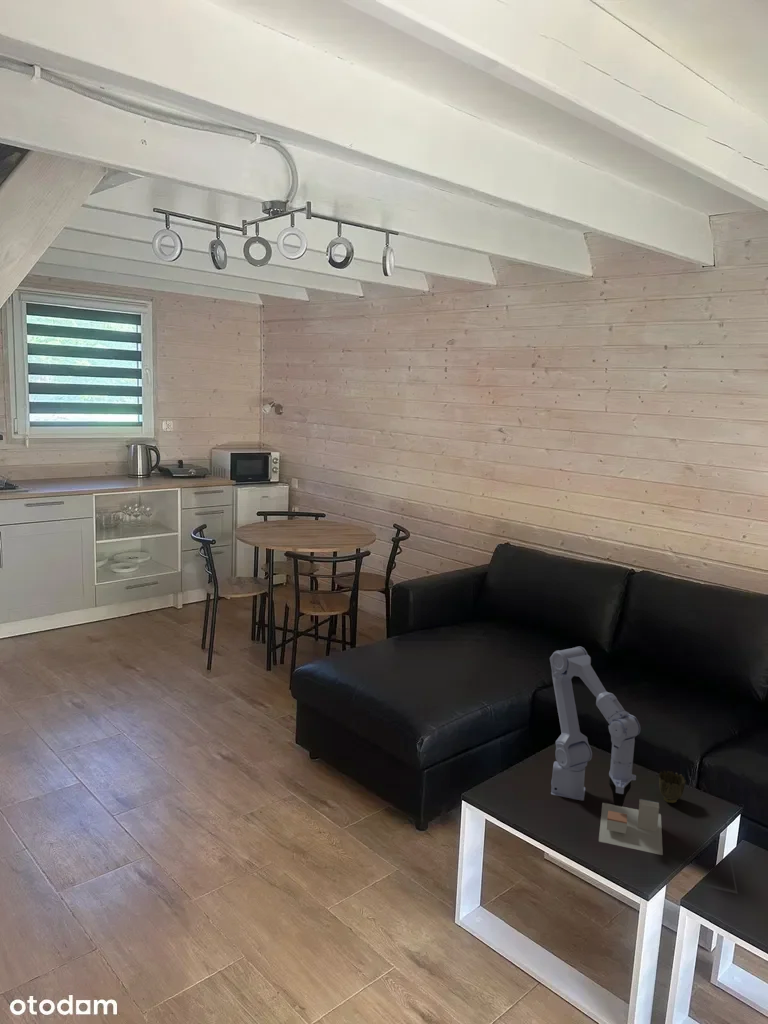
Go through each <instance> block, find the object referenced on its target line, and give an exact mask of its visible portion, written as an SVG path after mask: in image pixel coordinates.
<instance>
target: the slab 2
mask: <svg viewBox="0 0 768 1024" xmlns="http://www.w3.org/2000/svg"><path fill="white" fill-rule="evenodd" d="M638 802H639V803H638V810H639V812H638V828H641V829H646V830H651V831H656V832H657V825H658V814H660V813H659V812H660V802H659V801H653V800H649V799H644V798H639V801H638Z"/></svg>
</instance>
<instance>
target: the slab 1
mask: <svg viewBox="0 0 768 1024" xmlns="http://www.w3.org/2000/svg"><path fill="white" fill-rule="evenodd" d="M626 828H627V814H623V813H618V812H613V811H608V818H607V830H611V831H616V832H620V833H625V834H626Z"/></svg>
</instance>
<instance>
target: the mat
mask: <svg viewBox="0 0 768 1024" xmlns="http://www.w3.org/2000/svg"><path fill="white" fill-rule="evenodd" d="M608 811H613V812H618V813H623V814H627V828H626V834H625V833H620V832H616V831H611V830H607V818H608ZM638 812H639V809H637V808H632V807H626V806H622V807H621V806H615V805H614V804H611V803H608V802H602V804H601V814H600V815H601V816H600V826H599V831H598V832H599V834H598V842H599V843H603V844H609V845H613V846H617V847H623V848H627V849H632V850H637V851H641V852H646V853H649V854H655V855H658V856H659V855H660V856H663V855H664V853H663V834H662V832H663V831H662V829H663V828H662V814H661V813H659V814H658V825H657V832H656V831H651V830H646V829H641V828H638Z"/></svg>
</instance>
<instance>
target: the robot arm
mask: <svg viewBox="0 0 768 1024" xmlns="http://www.w3.org/2000/svg"><path fill="white" fill-rule="evenodd" d="M549 662H550V668H551V678H552V684H553V689H554V691H553V692H554V695H555V701H556V702H555V703H556V708H557V713H558V714H557V715H558V719H559V720H558V721H559V726H560V732H561V734H560V735H559V736H558V738H557V739H556V740H555V742H554V743H555V751H554V753H555V761H553V766H552V772H551V773H552V776H551V781H550V785H551V789H550V791H551V792H550V794H551V795H553V796H557V797H563V798H569V799H572V800H576V801H577V800H579V801H585V795H586V787H585V778H586V777H585V775H586V774H585V773H586V767H587V766H588V762H590V761H591V760H592V758H593V752H592V748H591V746H590V744H589V741H588V736H586V735H585V734H583V733H582V732H581V730H580V725H579V724H580V723H579V718H578V711H577V706H576V701H575V695H574V690H573V689H574V688H573V683H572V679H573V678H574V677H579V678H580V680H581V681H582V682H583V683H584V685H585V686H586V687H587V688H588V690H589V691H590V692H591V694H592V695H593V696H594V697H595V699H596V700H595V706H596V707H597V709H599V711H600V713H601V714H602V715H603V717H604V718H605V720H606V722H607V723H608V724H609V725H608V732H609V734H610V742H611V752H610V753H611V754H610V755H611V757H610V769H609V772H608V776H609V781H608V784H609V787H610V789H611V791H612V799H613V805H615V806H621V807H624V806H623V805H624V803H625V799H626V796H627V794H628V792H629V791H630V790H631V788H632V781H636V780H637V775H636V774H633V765H634V764H633V763H634V754H635V753H634V752H635V743H636V740H635V738H636V737H637V736H639V735H640V733H641V724H640V722H639V720H638V719H637V717H636V716H635V715H633V714H630V712H628V711H626V709H624V706H623V705H622V704H621V703H620V701H619V700H618V698H617V696H616V695H615V694H614V693H612V692H608V691H607V690H606V688H605V687H604V685H603V683H602V681H601V680H600V678H599V677H598V675H597V673H596V671H595V670H594V668H593V666H592V665H591V663H592V657H591V656H590V655H589V653H588V651H587V650H586V649H585V647H583V646H580V645H579V646H575V647H572V648H566V649H565V648H564V649H561V650H559V649H558V650H555V651H554V652H552V654H551V656H550V657H549Z"/></svg>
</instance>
